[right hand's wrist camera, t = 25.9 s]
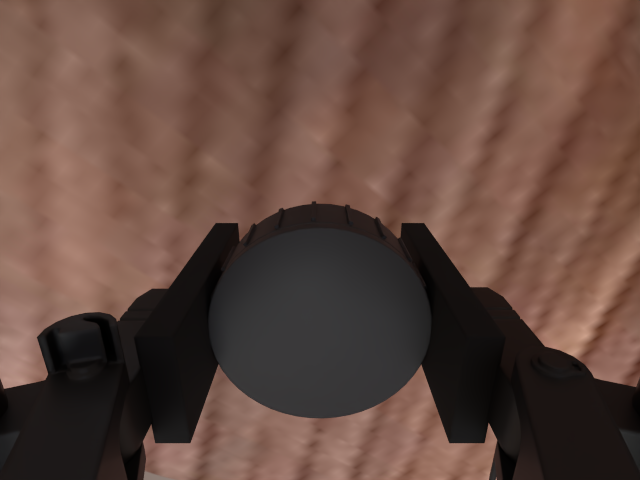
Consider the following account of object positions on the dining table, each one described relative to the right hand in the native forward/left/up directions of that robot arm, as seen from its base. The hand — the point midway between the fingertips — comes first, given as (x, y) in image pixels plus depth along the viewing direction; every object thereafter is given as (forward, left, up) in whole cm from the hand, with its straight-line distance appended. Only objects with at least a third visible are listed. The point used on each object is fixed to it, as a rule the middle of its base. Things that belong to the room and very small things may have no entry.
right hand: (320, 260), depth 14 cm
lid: (0, 0, +4) cm, 4 cm away
